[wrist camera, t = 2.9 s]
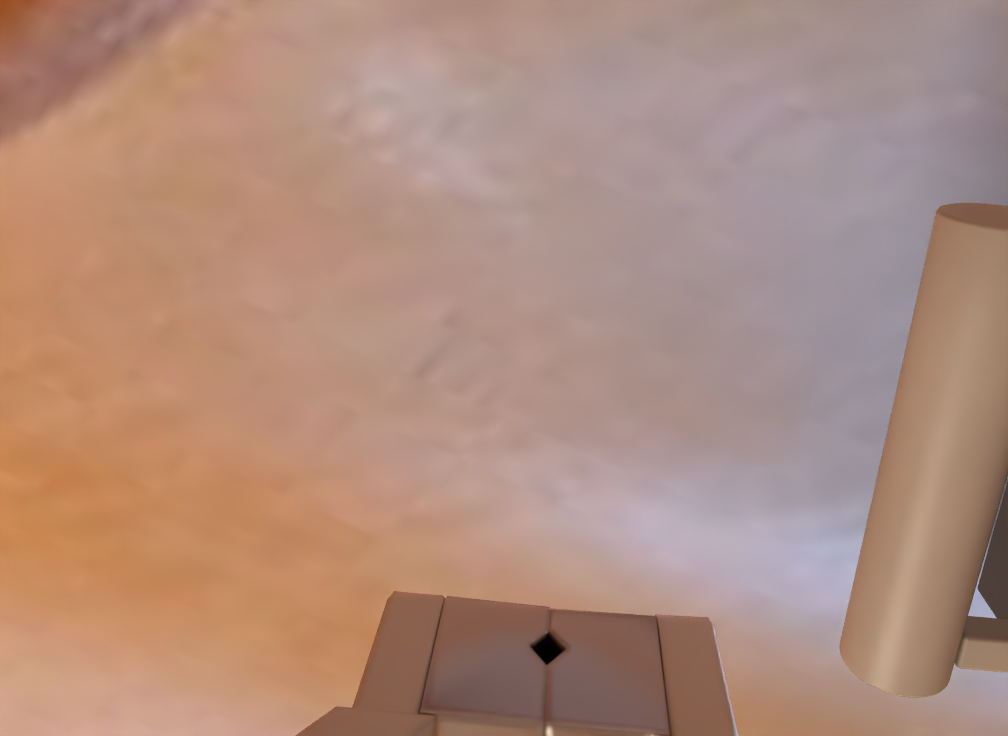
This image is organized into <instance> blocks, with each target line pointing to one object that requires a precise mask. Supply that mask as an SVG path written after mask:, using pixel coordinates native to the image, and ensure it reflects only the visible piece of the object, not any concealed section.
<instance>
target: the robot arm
mask: <svg viewBox="0 0 1008 736" xmlns="http://www.w3.org/2000/svg"><path fill="white" fill-rule="evenodd" d="M296 736H738V733H737V729H736V724H735V720H734V715H733V711H732V706H731V702H730V697H729V693H728V688H727V683H726V679H725V674H724V670H723V665H722V661H721V656H720V652H719V647H718V643H717V638H716V634H715V629H714V624H713V623H712V622H711V621H710V620H709V618H708V617H691V616H673V615H655V616H647V615H634V614H621V613H608V612H594V611H581V610H568V609H555V608H550V607H545V606H536V605H527V604H517V603H508V602H499V601H489V600H480V599H471V598H461V597H452V596H447V597H446V598H445V597H444V596H442V595H431V594H419V593H408V592H396V591H394V592H393V594H392V595H391V596H390V597H389V598H388V599H387V602H386V605H385V608H384V611H383V614H382V618H381V621H380V624H379V627H378V630H377V633H376V636H375V639H374V642H373V645H372V648H371V652H370V655H369V658H368V661H367V664H366V667H365V670H364V673H363V676H362V679H361V682H360V685H359V689H358V692H357V695H356V698H355V701H354V704H353V707H352V708H347V707H335V708H334V709H332V710H331V711H329V712H328V713H327V714H325V715H324V716H322V717H321V718H320V719H318V720H317V721H315V722H314V723H312V724H311V725H310V726H308V727H307V728H305V729H304V730H303V731H301V732H300V733H298V734H297V735H296Z"/></svg>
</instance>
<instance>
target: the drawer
mask: <svg viewBox="0 0 1008 736" xmlns="http://www.w3.org/2000/svg"><path fill="white" fill-rule="evenodd" d="M1007 475H1008V206H1002V205H992V204H978V203H957V204H949V205H944V206H941V207H940V208H939V209H938V210H937V212H936V216H935V220H934V225H933V229H932V234H931V238H930V243H929V247H928V252H927V256H926V261H925V265H924V269H923V274H922V278H921V283H920V287H919V292H918V296H917V301H916V305H915V310H914V314H913V319H912V323H911V328H910V332H909V337H908V341H907V346H906V350H905V354H904V359H903V363H902V368H901V372H900V377H899V381H898V386H897V390H896V395H895V399H894V404H893V408H892V413H891V417H890V422H889V426H888V431H887V435H886V440H885V444H884V448H883V453H882V457H881V462H880V466H879V471H878V475H877V480H876V484H875V489H874V493H873V498H872V502H871V507H870V511H869V516H868V520H867V525H866V529H865V533H864V538H863V542H862V547H861V551H860V556H859V560H858V565H857V569H856V574H855V578H854V583H853V587H852V592H851V596H850V601H849V605H848V610H847V614H846V618H845V623H844V627H843V632H842V636H841V641H840V653H841V656H842V659H843V661H844V663H845V664H846V666H847V667H848V668H849V669H850V670H851V671H852V672H853V673H854V674H855V675H856V676H857V677H859V678H860V679H861V680H863V681H864V682H866V683H867V684H869V685H871V686H873V687H875V688H877V689H879V690H882V691H885V692H887V693H891V694H894V695H898V696H903V697H914V698H920V697H928V696H932V695H935V694H937V693H939V692H941V691H942V690H943V689H944V688H945V687H946V686H947V685H948V683H949V680H950V677H951V673H952V670H953V666H954V663H955V665H956V666H957V667H958V668H961V669H972V670H984V671H995V672H1006V673H1008V482H1007V486H1006V489H1005V493H1004V496H1003V500H1002V503H1001V507H1000V510H999V514H998V517H997V521H996V524H995V528H994V531H993V535H992V538H991V542H990V545H989V549H988V553H987V556H986V560H985V563H984V567H983V570H982V574H981V577H980V581H979V584H978V590H979V592H980V593H981V595H982V596H983V598H984V599H985V601H986V602H987V604H988V605H989V607H990V608H991V610H992V611H993V613H994V614H995V616H996V617H997V619H996V618H984V617H972V616H968V613H969V609H970V606H971V602H972V599H973V595H974V592H975V588H976V585H977V581H978V578H979V574H980V570H981V567H982V563H983V560H984V556H985V553H986V549H987V546H988V542H989V539H990V535H991V532H992V528H993V524H994V521H995V517H996V514H997V510H998V507H999V503H1000V500H1001V496H1002V493H1003V489H1004V486H1005V482H1006V478H1007Z"/></svg>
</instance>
